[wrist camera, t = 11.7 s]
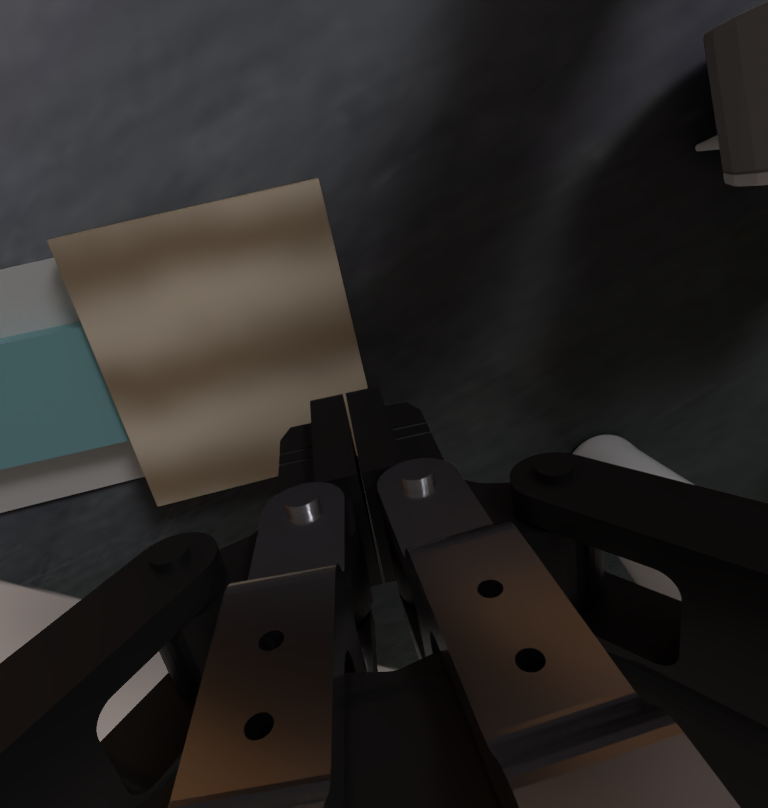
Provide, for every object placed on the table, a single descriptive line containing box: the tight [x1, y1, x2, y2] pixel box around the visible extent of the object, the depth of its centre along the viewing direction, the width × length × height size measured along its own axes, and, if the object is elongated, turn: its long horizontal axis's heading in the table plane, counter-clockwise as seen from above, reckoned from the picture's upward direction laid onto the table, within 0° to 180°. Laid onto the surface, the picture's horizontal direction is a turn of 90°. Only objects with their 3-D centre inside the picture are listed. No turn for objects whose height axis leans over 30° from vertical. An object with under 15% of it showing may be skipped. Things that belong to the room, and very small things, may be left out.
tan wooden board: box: [47, 178, 368, 507], centre depth 35 cm, size 16×14×3 cm
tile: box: [0, 321, 130, 470], centre depth 34 cm, size 7×10×2 cm
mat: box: [0, 258, 145, 513], centre depth 35 cm, size 14×12×1 cm
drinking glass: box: [572, 434, 695, 601], centre depth 36 cm, size 7×7×15 cm
